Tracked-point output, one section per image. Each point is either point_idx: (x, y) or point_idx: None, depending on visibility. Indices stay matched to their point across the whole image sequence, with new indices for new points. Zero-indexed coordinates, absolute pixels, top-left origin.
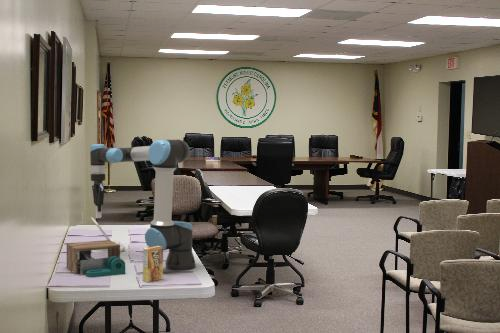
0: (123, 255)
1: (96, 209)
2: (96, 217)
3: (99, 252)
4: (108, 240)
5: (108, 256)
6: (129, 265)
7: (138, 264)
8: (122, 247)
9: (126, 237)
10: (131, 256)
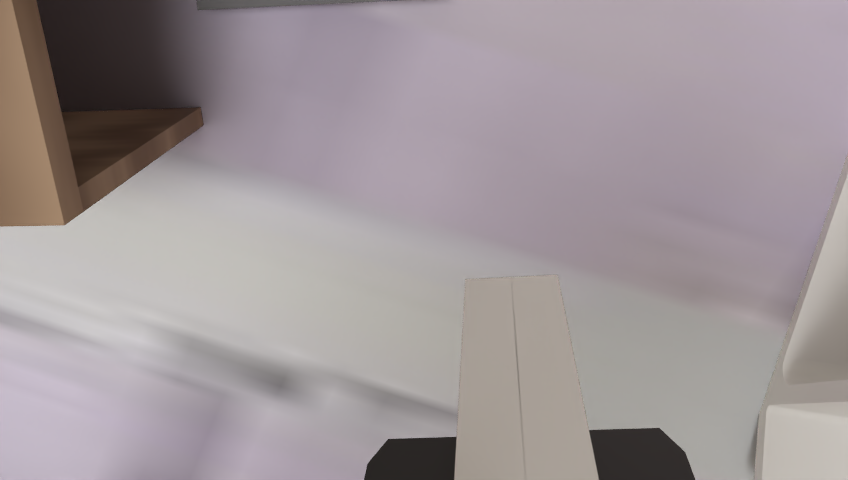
0: None
1: (469, 449)
2: (487, 285)
3: (840, 193)
4: (13, 195)
5: (145, 130)
6: (43, 279)
7: (67, 367)
8: (804, 477)
9: None
10: None
